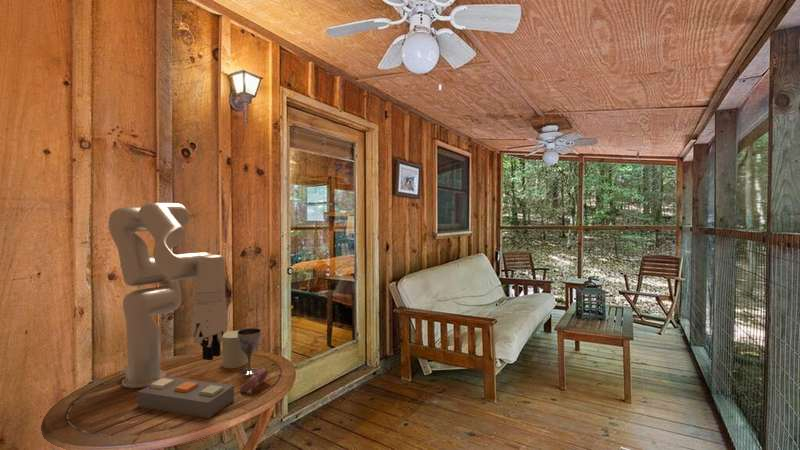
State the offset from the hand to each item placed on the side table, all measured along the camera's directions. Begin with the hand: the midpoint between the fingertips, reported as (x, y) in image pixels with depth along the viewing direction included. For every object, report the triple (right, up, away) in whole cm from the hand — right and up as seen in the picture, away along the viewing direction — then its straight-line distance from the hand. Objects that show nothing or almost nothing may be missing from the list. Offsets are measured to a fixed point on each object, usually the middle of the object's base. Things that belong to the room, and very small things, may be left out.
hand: (211, 357), depth 115 cm
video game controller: (+8, -15, +14) cm, 22 cm away
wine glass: (+1, -14, +26) cm, 30 cm away
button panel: (-9, -15, +3) cm, 18 cm away
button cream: (-18, -12, +5) cm, 22 cm away
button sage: (0, -13, 0) cm, 13 cm away
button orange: (-9, -12, +3) cm, 16 cm away
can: (-7, -14, +33) cm, 37 cm away
